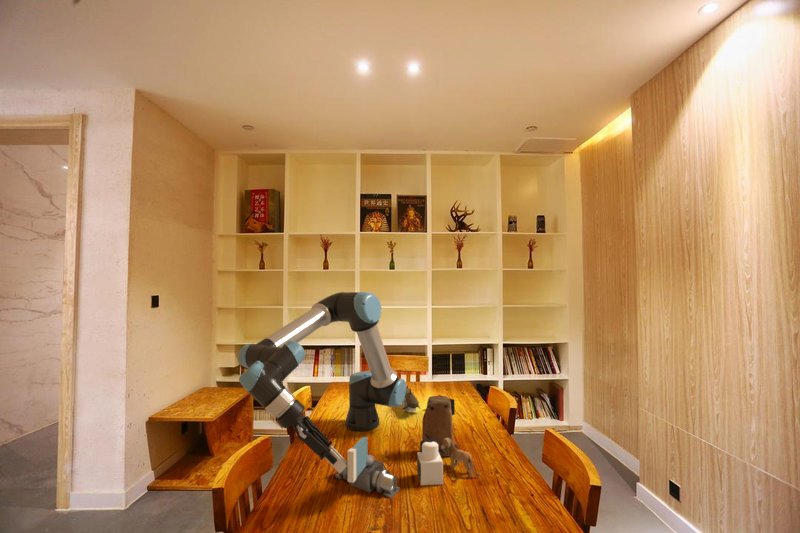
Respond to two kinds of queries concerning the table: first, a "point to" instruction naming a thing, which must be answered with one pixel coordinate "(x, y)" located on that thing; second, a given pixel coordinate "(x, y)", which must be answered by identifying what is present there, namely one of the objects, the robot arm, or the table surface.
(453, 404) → the digital camera
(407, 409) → the wood carving
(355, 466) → the lever
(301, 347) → the robot arm
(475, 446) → the table surface
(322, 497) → the table surface
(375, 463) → the valve
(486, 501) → the table surface
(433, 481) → the medicine bottle
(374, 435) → the table surface
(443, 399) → the brown rough block
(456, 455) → the lion figurine
